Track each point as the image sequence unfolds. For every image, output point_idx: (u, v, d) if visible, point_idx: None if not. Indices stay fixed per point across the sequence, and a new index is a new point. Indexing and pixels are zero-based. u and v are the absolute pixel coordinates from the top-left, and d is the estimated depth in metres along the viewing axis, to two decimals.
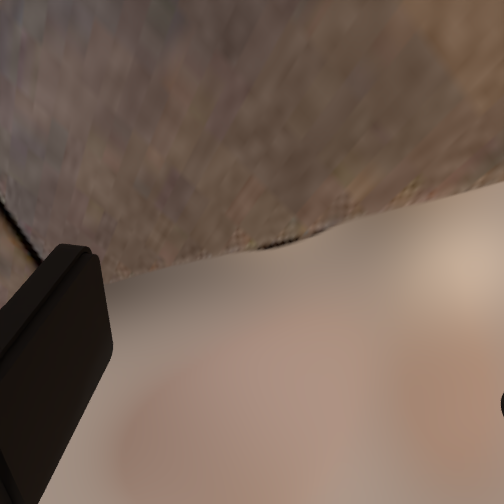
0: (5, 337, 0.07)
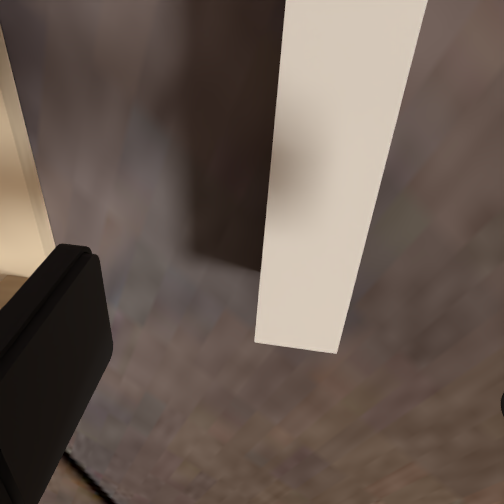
0: (5, 337, 0.07)
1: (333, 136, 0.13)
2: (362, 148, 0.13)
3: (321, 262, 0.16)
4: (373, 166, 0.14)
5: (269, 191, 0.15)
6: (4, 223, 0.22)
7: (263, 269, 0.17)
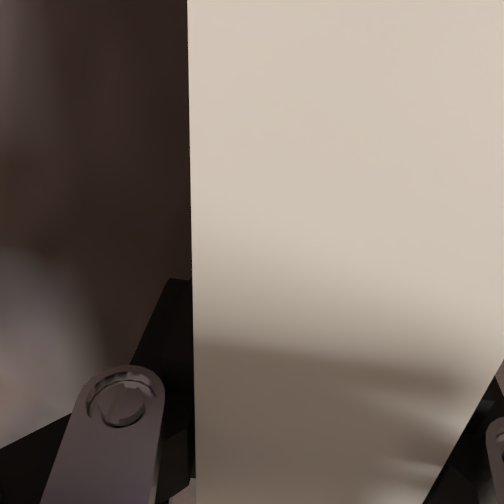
0: None
1: (327, 427, 0.06)
2: (391, 448, 0.06)
3: None
4: (413, 474, 0.06)
5: (198, 488, 0.07)
6: None
7: None
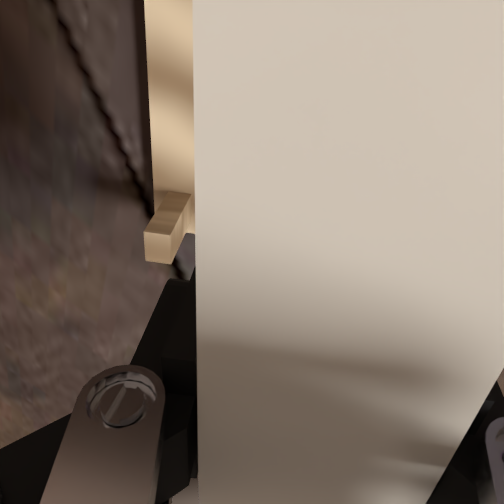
0: None
1: (328, 431, 0.06)
2: (393, 452, 0.06)
3: None
4: (415, 477, 0.06)
5: (200, 491, 0.07)
6: None
7: None
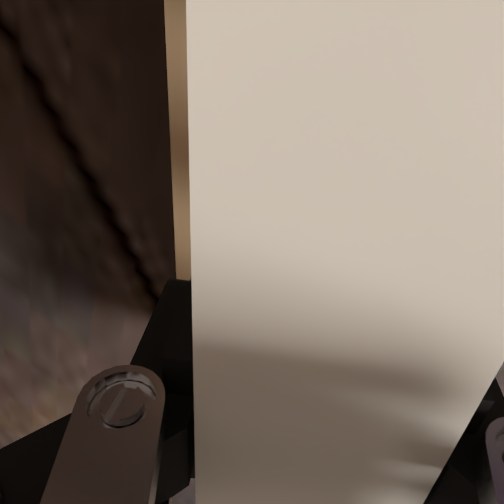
0: None
1: (325, 433, 0.06)
2: (389, 454, 0.06)
3: None
4: (412, 479, 0.06)
5: (197, 492, 0.07)
6: None
7: None
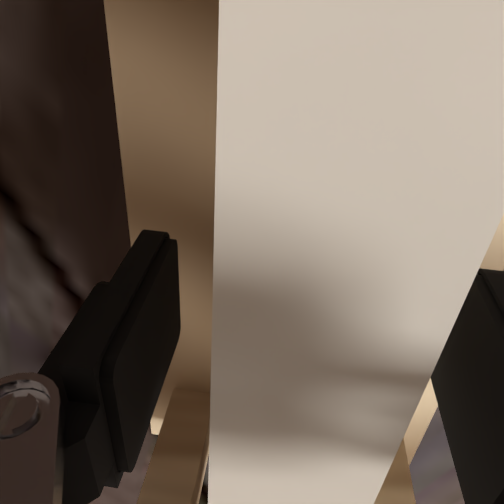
0: (117, 310, 0.07)
1: (324, 358, 0.07)
2: (379, 376, 0.07)
3: None
4: (398, 401, 0.07)
5: (211, 421, 0.08)
6: None
7: None
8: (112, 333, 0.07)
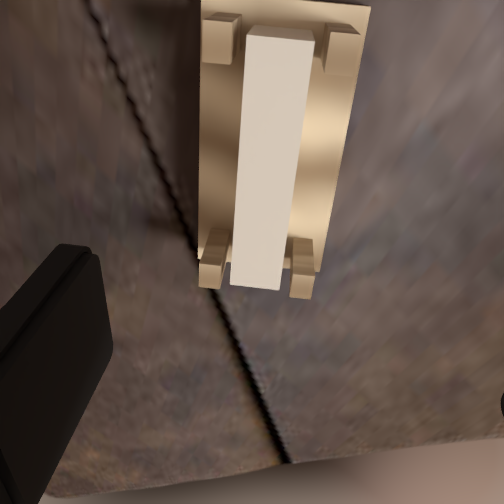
0: (5, 337, 0.07)
1: (268, 162, 0.26)
2: (283, 167, 0.26)
3: (266, 231, 0.29)
4: (290, 176, 0.26)
5: (236, 190, 0.27)
6: (310, 199, 0.33)
7: (234, 236, 0.29)
8: None
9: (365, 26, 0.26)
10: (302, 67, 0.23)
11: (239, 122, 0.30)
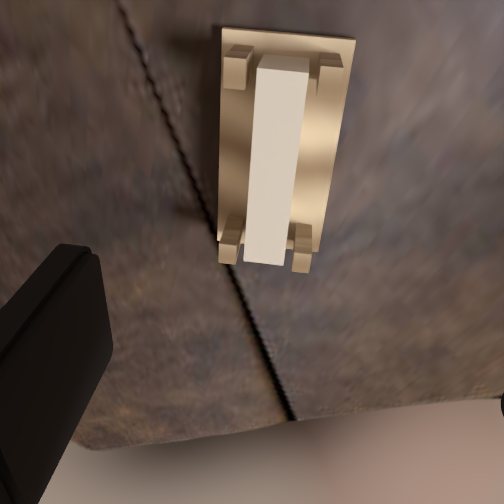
0: (5, 337, 0.07)
1: (274, 163, 0.33)
2: (286, 167, 0.33)
3: (272, 217, 0.36)
4: (291, 175, 0.34)
5: (249, 185, 0.35)
6: (309, 191, 0.40)
7: (247, 221, 0.36)
8: None
9: (351, 55, 0.33)
10: (299, 91, 0.30)
11: (251, 130, 0.37)
